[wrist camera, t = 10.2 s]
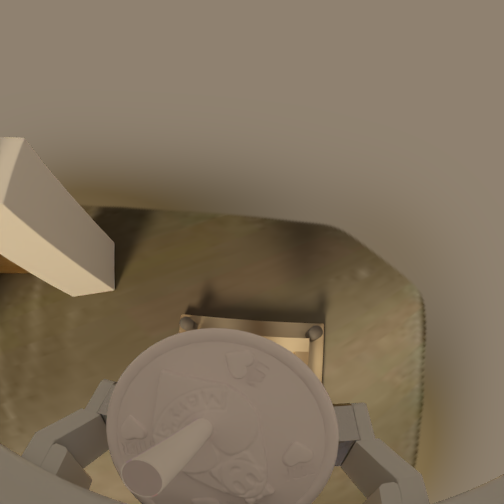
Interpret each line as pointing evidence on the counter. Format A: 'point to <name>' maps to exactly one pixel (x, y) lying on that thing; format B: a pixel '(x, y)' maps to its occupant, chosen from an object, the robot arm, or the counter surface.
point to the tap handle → (10, 266)
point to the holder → (272, 335)
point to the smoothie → (221, 422)
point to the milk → (49, 226)
